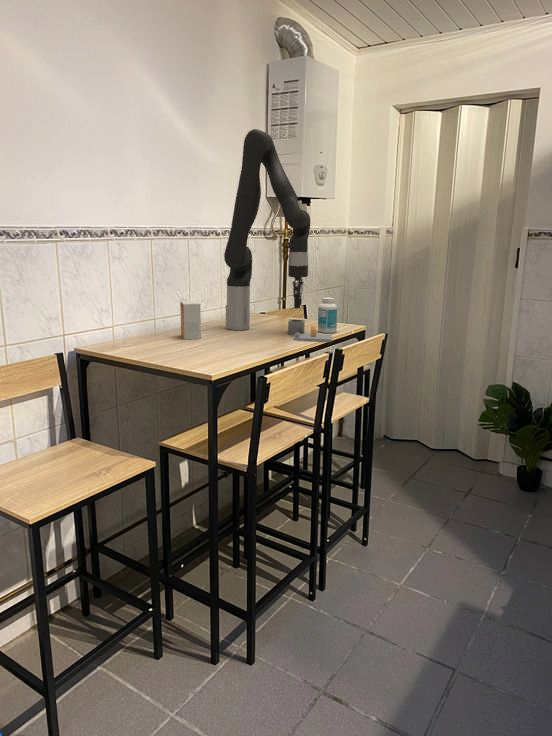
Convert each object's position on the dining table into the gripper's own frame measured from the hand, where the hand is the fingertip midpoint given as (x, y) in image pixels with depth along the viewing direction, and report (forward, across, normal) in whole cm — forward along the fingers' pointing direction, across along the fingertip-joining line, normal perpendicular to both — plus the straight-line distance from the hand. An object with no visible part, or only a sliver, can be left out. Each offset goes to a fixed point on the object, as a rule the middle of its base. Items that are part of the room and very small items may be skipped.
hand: (297, 306), depth 223 cm
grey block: (+10, 0, 0) cm, 11 cm away
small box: (+10, +16, -39) cm, 43 cm away
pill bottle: (+11, -6, +11) cm, 17 cm away
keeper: (+11, +10, +6) cm, 16 cm away
